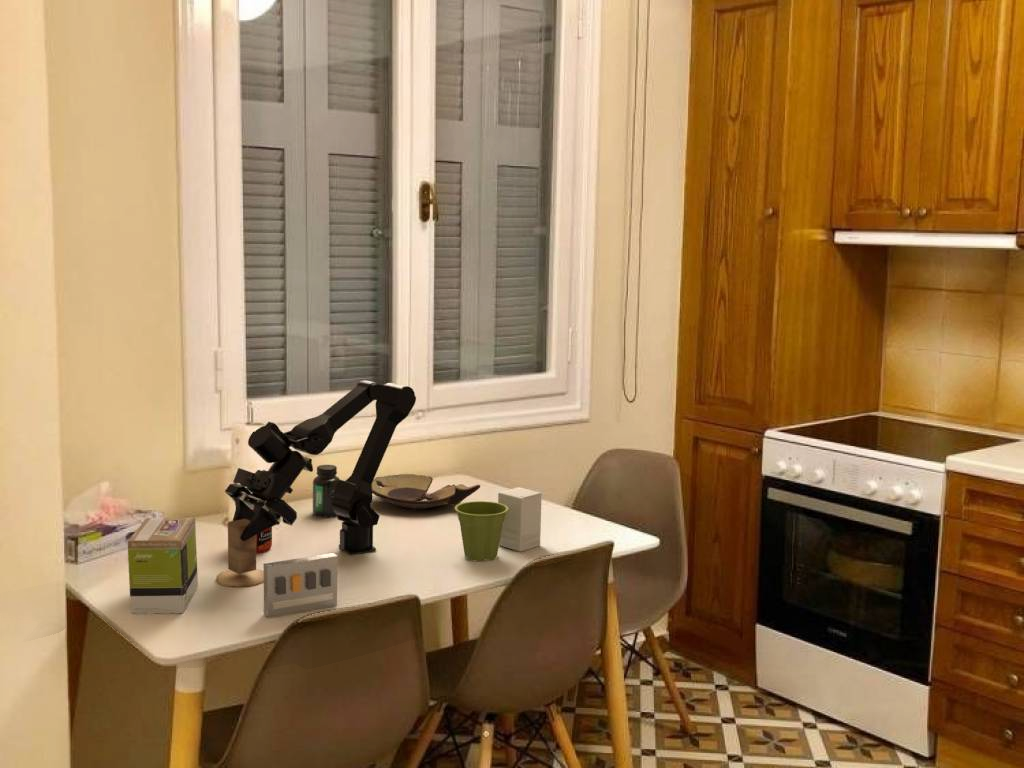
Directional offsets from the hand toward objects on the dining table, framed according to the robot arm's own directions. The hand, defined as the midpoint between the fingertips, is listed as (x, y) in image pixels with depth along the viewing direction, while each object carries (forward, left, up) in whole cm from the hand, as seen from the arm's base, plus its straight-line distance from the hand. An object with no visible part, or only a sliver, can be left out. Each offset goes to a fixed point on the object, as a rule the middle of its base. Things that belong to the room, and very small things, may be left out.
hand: (236, 537), depth 228 cm
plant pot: (-52, +10, -9) cm, 54 cm away
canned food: (-10, -18, -9) cm, 23 cm away
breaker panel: (-5, +22, -9) cm, 24 cm away
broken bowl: (-59, -32, -9) cm, 68 cm away
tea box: (+16, +5, -9) cm, 19 cm away
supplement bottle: (-35, -36, -9) cm, 51 cm away
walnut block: (-1, 0, -7) cm, 7 cm away
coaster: (-1, 0, -9) cm, 9 cm away
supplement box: (-64, +7, -9) cm, 65 cm away
